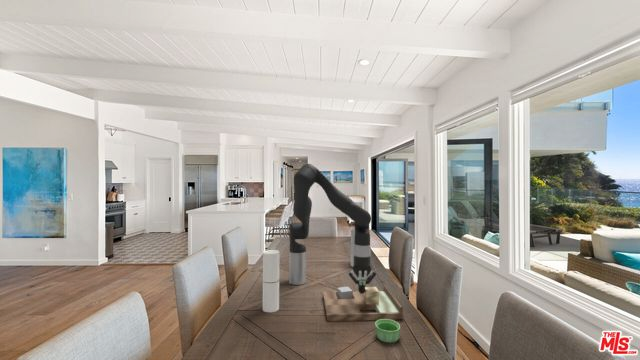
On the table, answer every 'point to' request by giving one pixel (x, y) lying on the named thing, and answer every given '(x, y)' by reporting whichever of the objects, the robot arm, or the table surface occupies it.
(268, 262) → the cylindrical container
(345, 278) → the table surface
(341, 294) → the trapped grey cube
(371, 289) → the maple cube
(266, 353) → the table surface
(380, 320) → the ramekin
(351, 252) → the cylinder vase
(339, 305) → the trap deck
